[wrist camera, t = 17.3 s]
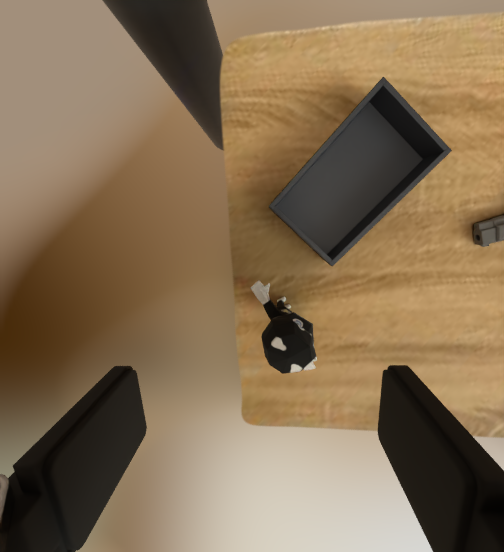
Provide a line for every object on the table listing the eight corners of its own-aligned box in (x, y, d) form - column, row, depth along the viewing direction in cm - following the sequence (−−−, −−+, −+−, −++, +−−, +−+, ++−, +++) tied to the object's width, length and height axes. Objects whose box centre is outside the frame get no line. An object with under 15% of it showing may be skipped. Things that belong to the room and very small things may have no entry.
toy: (323, 329, 39) (354, 396, 24) (289, 347, 40) (299, 422, 25) (278, 257, 37) (282, 282, 22) (243, 278, 38) (226, 315, 23)
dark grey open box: (268, 207, 35) (268, 206, 31) (367, 96, 31) (383, 76, 27) (324, 260, 36) (332, 266, 32) (427, 159, 32) (452, 150, 28)
